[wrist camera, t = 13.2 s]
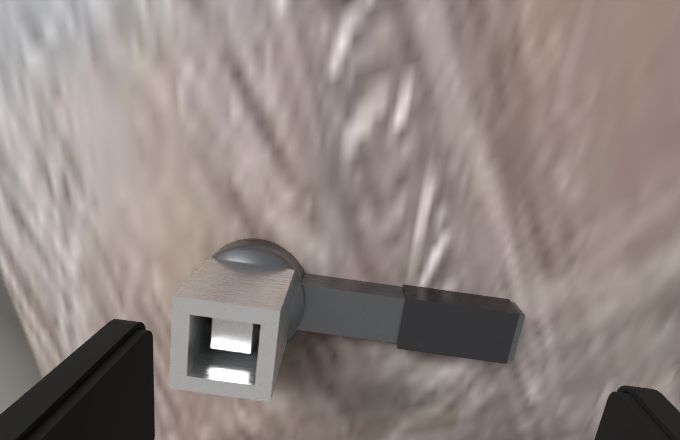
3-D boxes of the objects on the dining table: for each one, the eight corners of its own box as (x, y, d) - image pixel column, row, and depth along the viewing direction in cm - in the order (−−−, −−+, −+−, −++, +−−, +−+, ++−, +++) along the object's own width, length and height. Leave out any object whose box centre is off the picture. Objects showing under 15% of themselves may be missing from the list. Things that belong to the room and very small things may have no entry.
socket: (294, 269, 30) (280, 310, 24) (285, 346, 31) (270, 402, 26) (207, 257, 30) (172, 295, 24) (203, 334, 31) (169, 388, 26)
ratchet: (522, 275, 32) (562, 318, 26) (496, 369, 34) (528, 429, 28) (205, 231, 32) (169, 264, 26) (200, 328, 34) (165, 379, 28)
